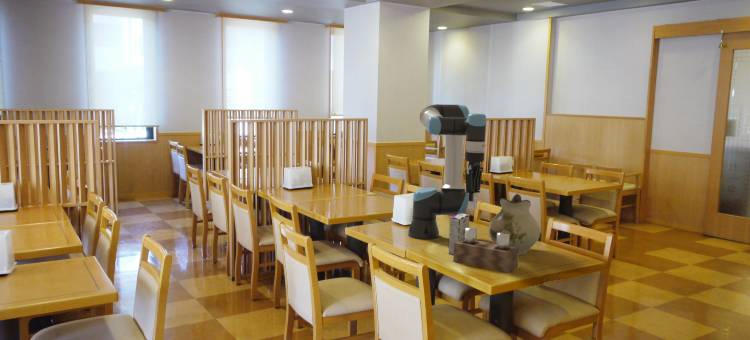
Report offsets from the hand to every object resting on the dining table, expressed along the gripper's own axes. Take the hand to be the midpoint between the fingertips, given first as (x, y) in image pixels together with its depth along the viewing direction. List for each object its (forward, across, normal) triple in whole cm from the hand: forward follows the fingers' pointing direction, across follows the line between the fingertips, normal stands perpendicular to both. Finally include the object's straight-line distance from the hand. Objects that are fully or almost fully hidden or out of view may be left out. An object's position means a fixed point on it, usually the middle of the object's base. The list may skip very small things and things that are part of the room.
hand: (472, 208), depth 236 cm
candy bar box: (+23, +10, +10) cm, 27 cm away
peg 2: (+16, 0, -14) cm, 21 cm away
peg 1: (+16, 0, 0) cm, 16 cm away
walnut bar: (+22, 0, -7) cm, 24 cm away
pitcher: (+23, +28, -8) cm, 37 cm away
